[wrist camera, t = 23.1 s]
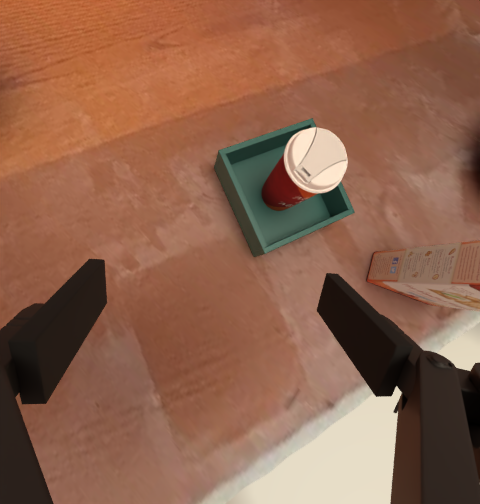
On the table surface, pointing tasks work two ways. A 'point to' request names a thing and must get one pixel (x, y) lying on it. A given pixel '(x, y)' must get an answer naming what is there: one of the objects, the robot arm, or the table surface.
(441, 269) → the cracker box
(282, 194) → the paper cup
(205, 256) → the table surface
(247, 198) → the bin
